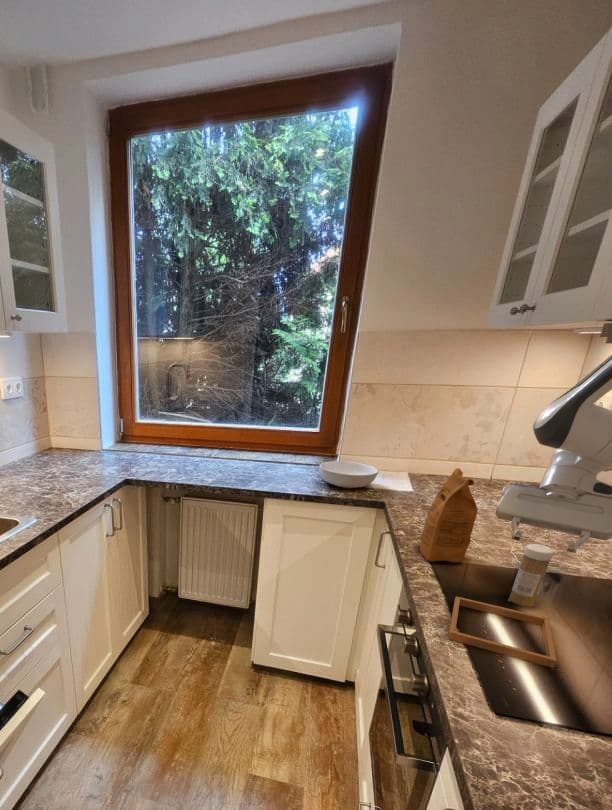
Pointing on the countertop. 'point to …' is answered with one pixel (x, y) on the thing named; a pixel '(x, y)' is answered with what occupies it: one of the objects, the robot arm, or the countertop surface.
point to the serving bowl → (347, 474)
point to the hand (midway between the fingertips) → (542, 544)
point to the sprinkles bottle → (531, 574)
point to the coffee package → (450, 521)
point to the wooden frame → (501, 648)
